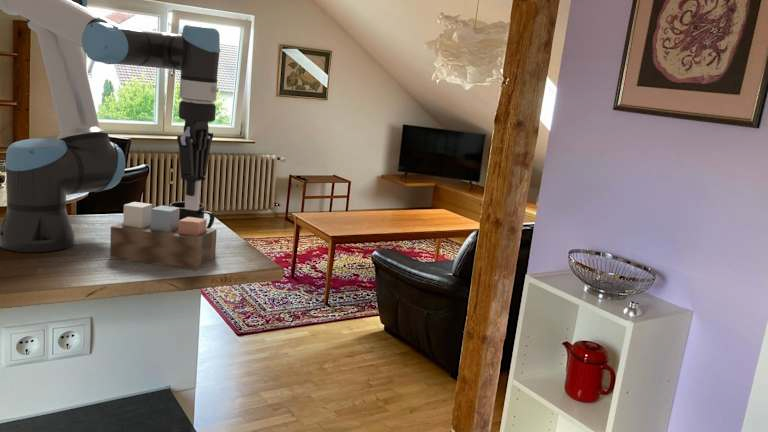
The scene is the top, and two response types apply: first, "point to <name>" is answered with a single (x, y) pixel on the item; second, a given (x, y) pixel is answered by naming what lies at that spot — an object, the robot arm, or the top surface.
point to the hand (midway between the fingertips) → (191, 209)
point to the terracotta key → (192, 226)
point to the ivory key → (137, 214)
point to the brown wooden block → (162, 246)
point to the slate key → (165, 218)
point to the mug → (193, 212)
